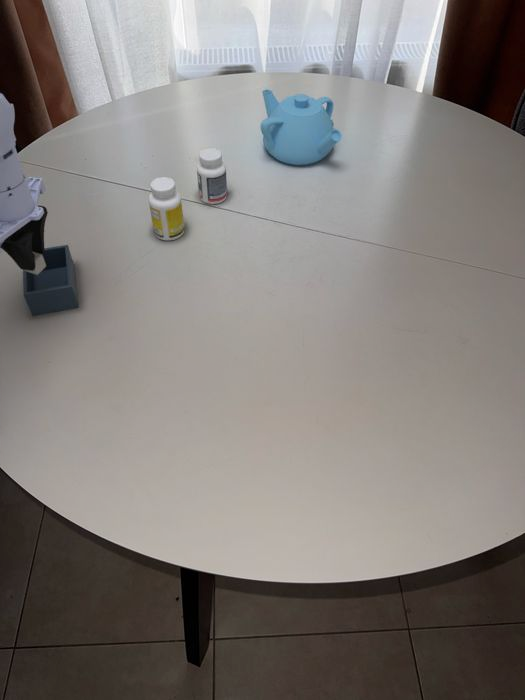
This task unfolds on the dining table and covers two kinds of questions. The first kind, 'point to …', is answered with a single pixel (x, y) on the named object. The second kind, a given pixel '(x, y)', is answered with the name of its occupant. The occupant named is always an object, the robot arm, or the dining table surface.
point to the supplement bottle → (166, 209)
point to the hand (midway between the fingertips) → (32, 261)
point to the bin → (52, 283)
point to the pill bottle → (211, 176)
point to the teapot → (298, 128)
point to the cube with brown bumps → (38, 263)
